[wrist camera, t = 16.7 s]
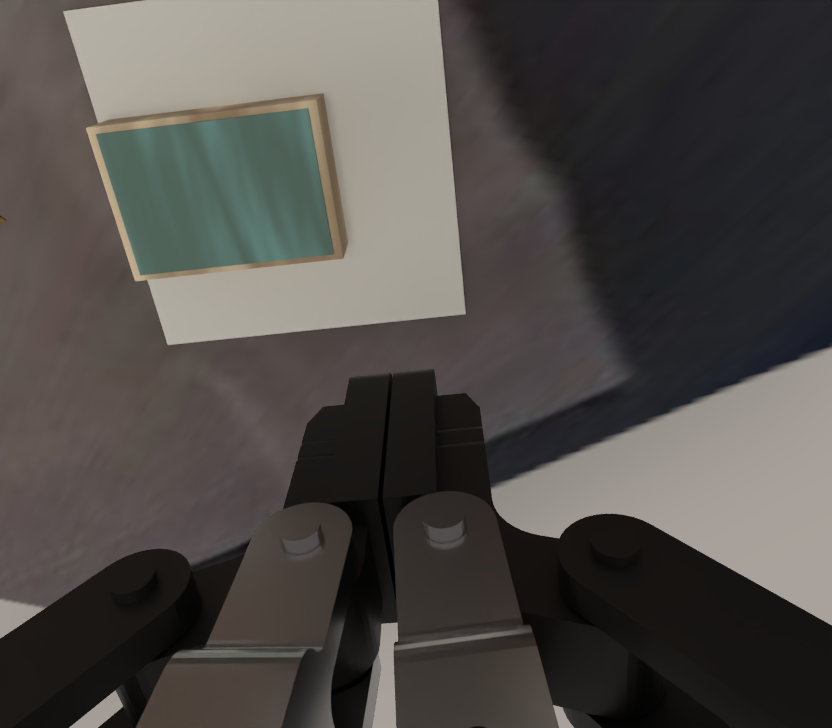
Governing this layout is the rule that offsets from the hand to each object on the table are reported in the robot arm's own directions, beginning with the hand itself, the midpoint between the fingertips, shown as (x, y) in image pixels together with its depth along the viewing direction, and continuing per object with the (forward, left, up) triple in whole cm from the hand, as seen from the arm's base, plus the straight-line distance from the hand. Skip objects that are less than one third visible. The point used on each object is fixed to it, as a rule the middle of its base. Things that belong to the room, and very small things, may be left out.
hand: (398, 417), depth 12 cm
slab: (+4, 0, -21) cm, 22 cm away
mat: (+6, 0, -23) cm, 24 cm away
